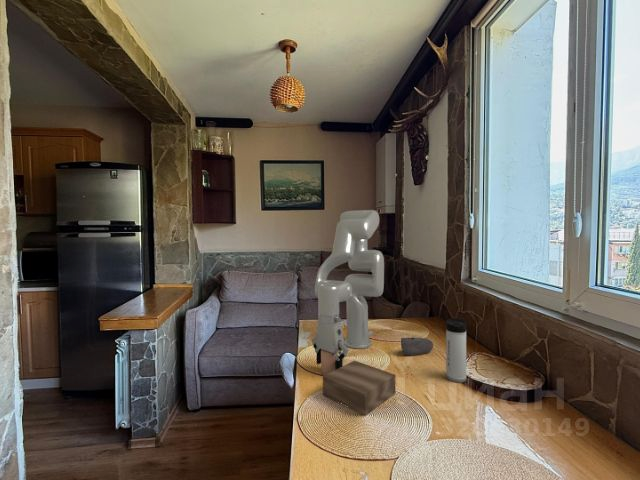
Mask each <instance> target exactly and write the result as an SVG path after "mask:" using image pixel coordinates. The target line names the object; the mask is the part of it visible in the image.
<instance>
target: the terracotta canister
mask: <svg viewBox="0 0 640 480" xmlns="http://www.w3.org/2000/svg"><path fill="white" fill-rule="evenodd" d="M335 360H337V359H336V357H335V355H334V353H331V352H328V351H325V350H321V363H320V373H321V375H322V376H324V375H326V374H328V373H330V372H332V371H334V370H335Z"/></svg>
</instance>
